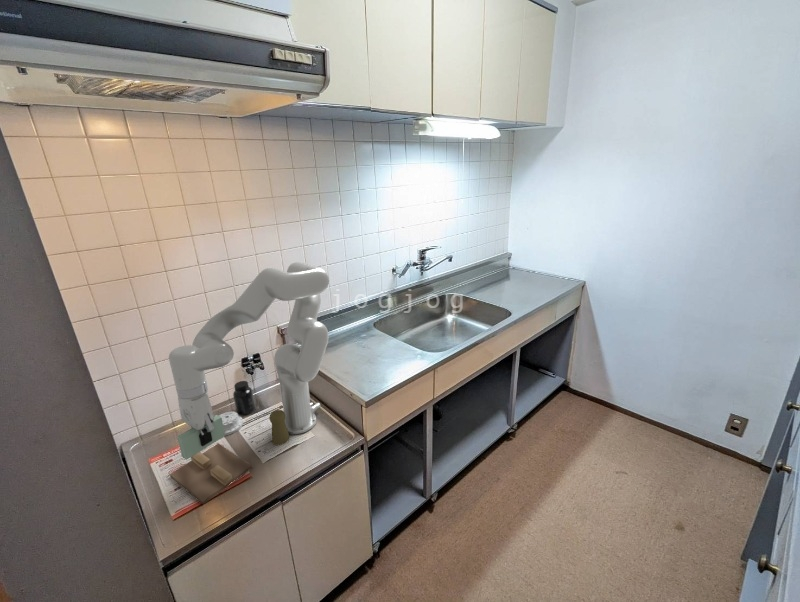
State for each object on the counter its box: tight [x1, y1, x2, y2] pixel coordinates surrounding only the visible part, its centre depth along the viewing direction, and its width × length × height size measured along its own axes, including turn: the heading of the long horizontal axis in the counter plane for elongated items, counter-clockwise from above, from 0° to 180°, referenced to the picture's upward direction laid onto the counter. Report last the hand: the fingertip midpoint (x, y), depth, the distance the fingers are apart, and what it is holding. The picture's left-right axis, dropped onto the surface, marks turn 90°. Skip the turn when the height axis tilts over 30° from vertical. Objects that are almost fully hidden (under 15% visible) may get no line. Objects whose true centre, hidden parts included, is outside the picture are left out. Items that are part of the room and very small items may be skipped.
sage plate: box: [176, 414, 226, 461], centre depth 110 cm, size 12×2×7 cm, turn 147°
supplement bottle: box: [232, 380, 256, 416], centre depth 142 cm, size 7×7×12 cm
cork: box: [269, 409, 291, 446], centre depth 127 cm, size 6×6×11 cm
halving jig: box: [169, 443, 253, 506], centre depth 115 cm, size 16×18×3 cm
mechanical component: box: [219, 410, 244, 436], centre depth 134 cm, size 10×4×10 cm
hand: (203, 440), depth 111 cm, fingers closed on sage plate, 2 cm apart
